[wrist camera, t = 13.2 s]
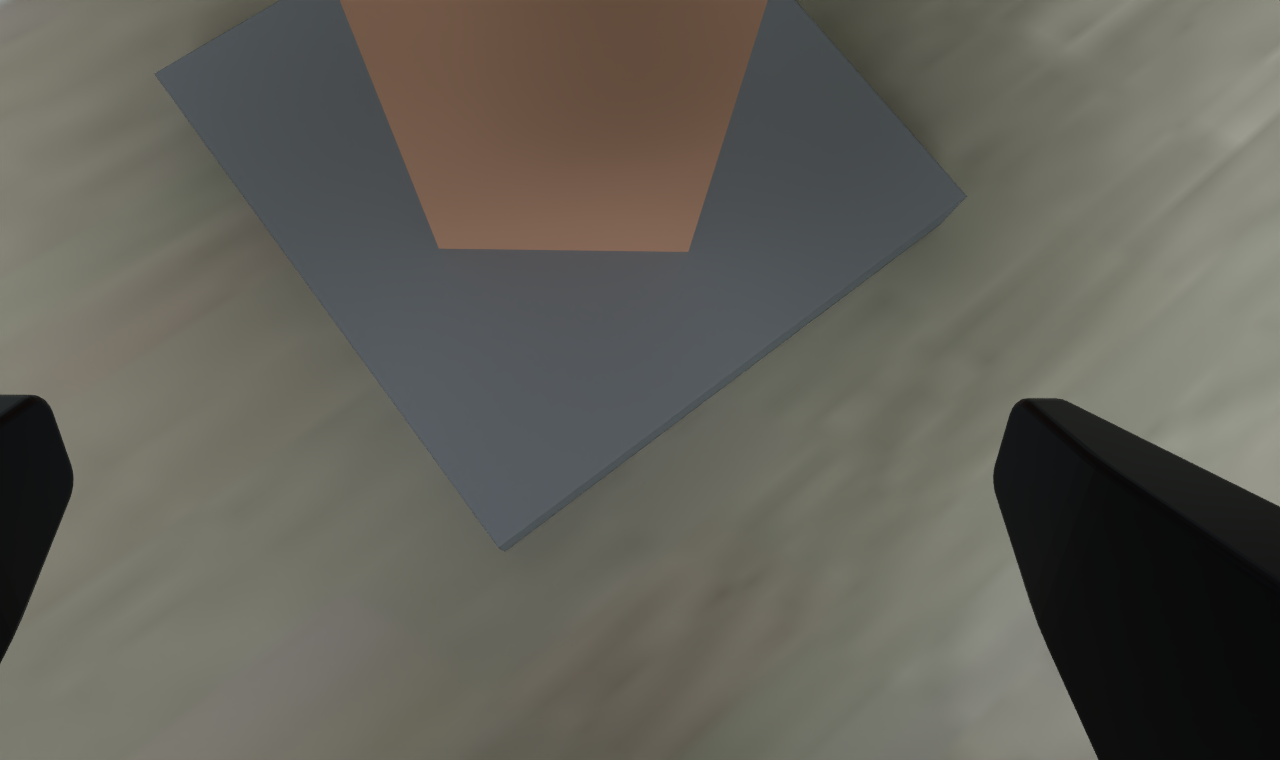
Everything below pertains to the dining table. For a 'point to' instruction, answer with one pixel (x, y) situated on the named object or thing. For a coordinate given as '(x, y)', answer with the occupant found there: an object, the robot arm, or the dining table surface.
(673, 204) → the terracotta block
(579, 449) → the slate board
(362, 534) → the dining table surface
